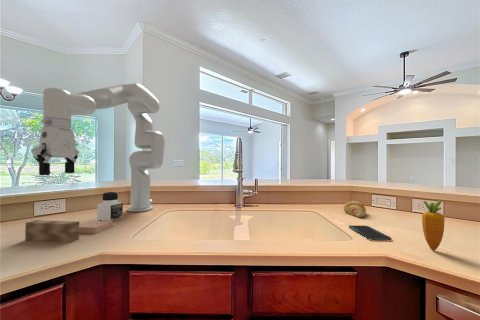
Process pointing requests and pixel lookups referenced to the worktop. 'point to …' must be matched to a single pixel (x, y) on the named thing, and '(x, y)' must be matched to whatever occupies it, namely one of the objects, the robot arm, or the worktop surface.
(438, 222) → the carrot
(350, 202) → the croissant
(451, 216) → the worktop surface
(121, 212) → the medicine bottle
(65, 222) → the brown wooden block
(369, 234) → the phone
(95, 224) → the tile
